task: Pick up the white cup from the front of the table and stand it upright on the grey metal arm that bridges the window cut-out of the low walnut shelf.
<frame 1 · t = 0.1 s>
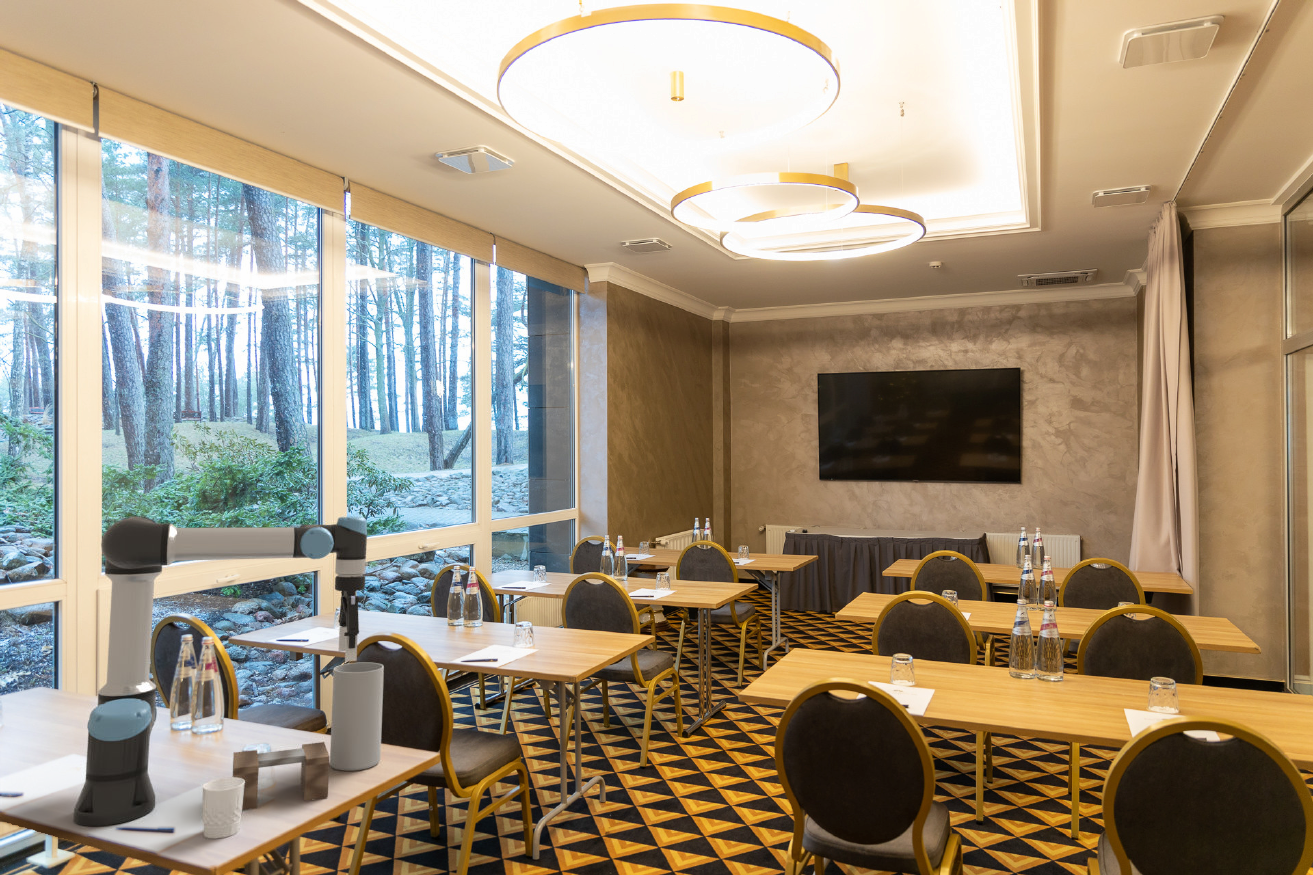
hand: (347, 655, 219), 28 cm above the table, tool pointing down, fingers open, 13 cm apart
cylinder vase: (355, 764, 218), on the table
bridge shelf: (279, 795, 195), on the table
white cup: (221, 833, 174), on the table
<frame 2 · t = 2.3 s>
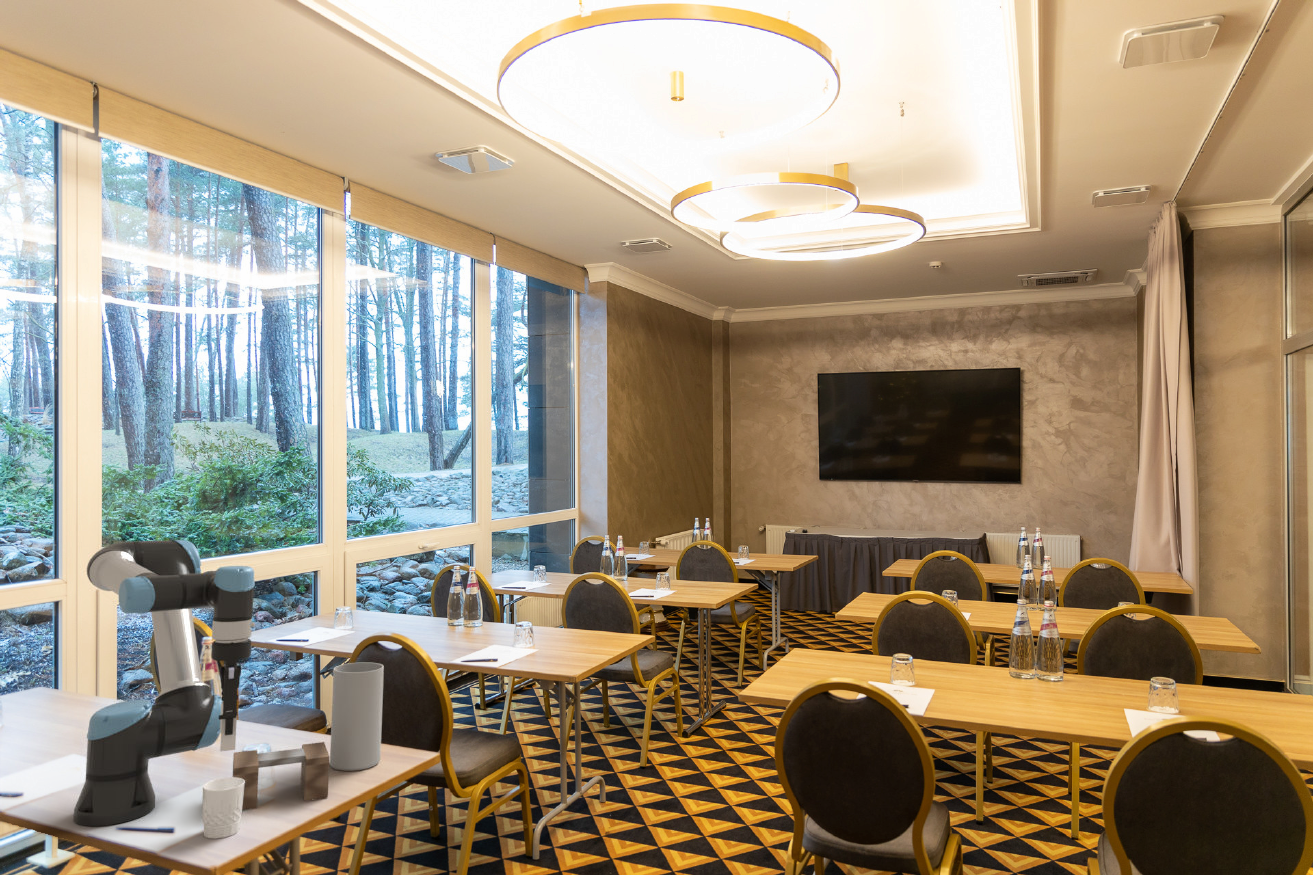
hand: (227, 740, 176), 19 cm above the table, tool pointing down, fingers open, 13 cm apart
nothing on the table moved.
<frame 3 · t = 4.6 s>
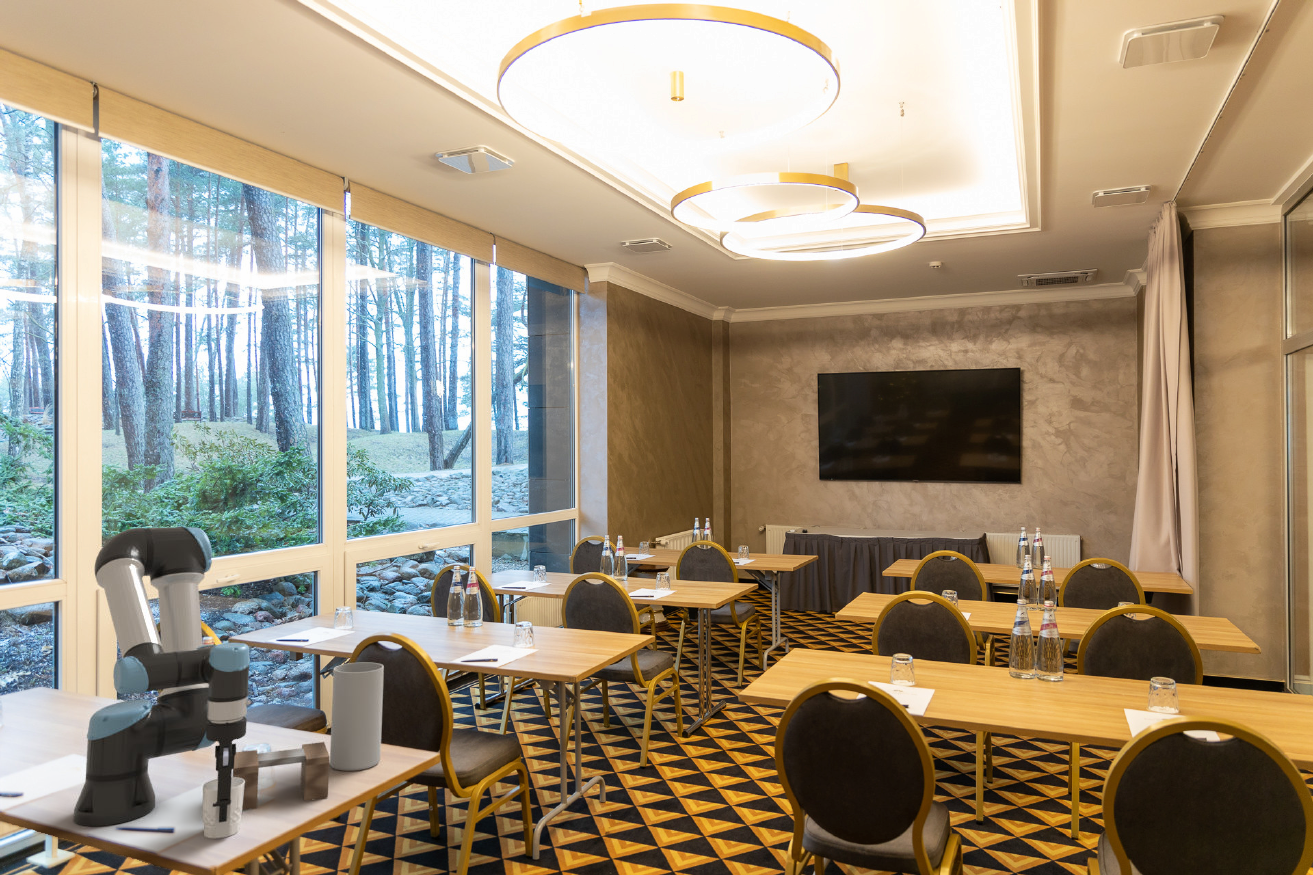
hand: (221, 828, 174), 1 cm above the table, tool pointing down, fingers closed on white cup, 8 cm apart
white cup: (221, 832, 174), on the table, touching gripper
everything else where it was.
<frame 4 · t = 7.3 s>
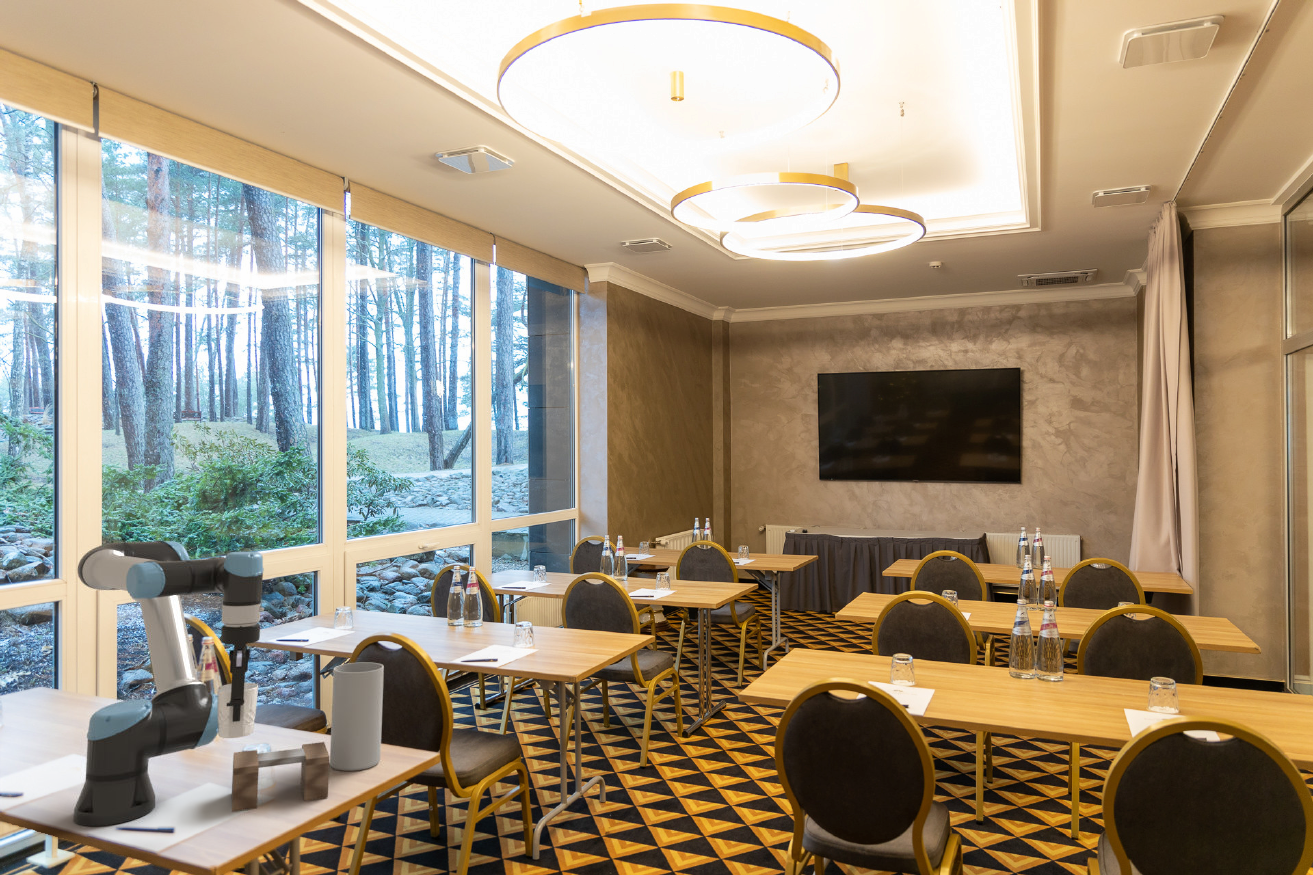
hand: (236, 730, 179), 20 cm above the table, tool pointing down, fingers closed on white cup, 8 cm apart
white cup: (235, 734, 179), point 19 cm above the table, touching gripper
everything else where it was.
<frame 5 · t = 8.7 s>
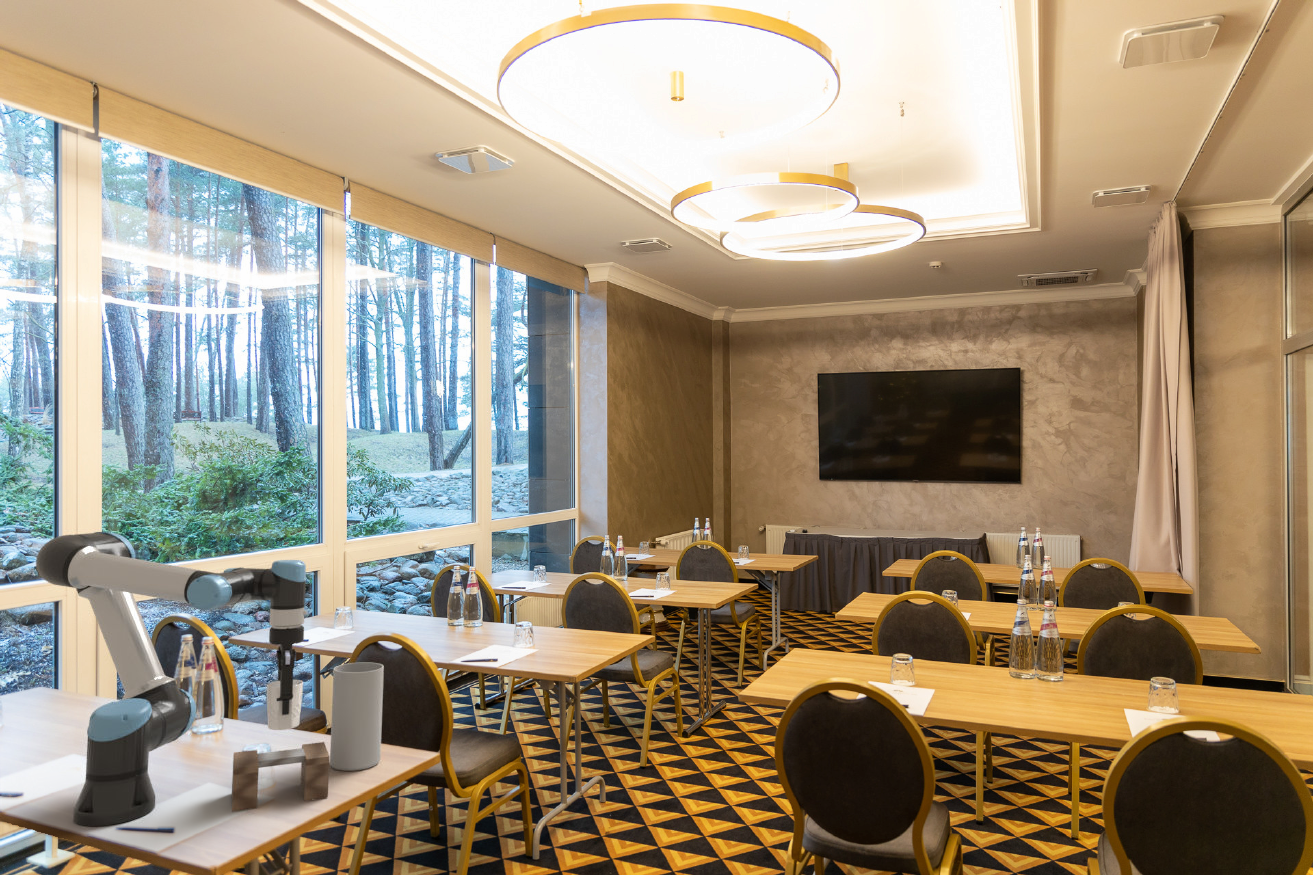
hand: (283, 723, 196), 17 cm above the table, tool pointing down, fingers closed on white cup, 8 cm apart
white cup: (283, 727, 196), point 16 cm above the table, touching gripper
everything else where it was.
when the fingers open (12 cm above the table, at t = 10.1 s): white cup drops 1 cm, point 10 cm above the table.
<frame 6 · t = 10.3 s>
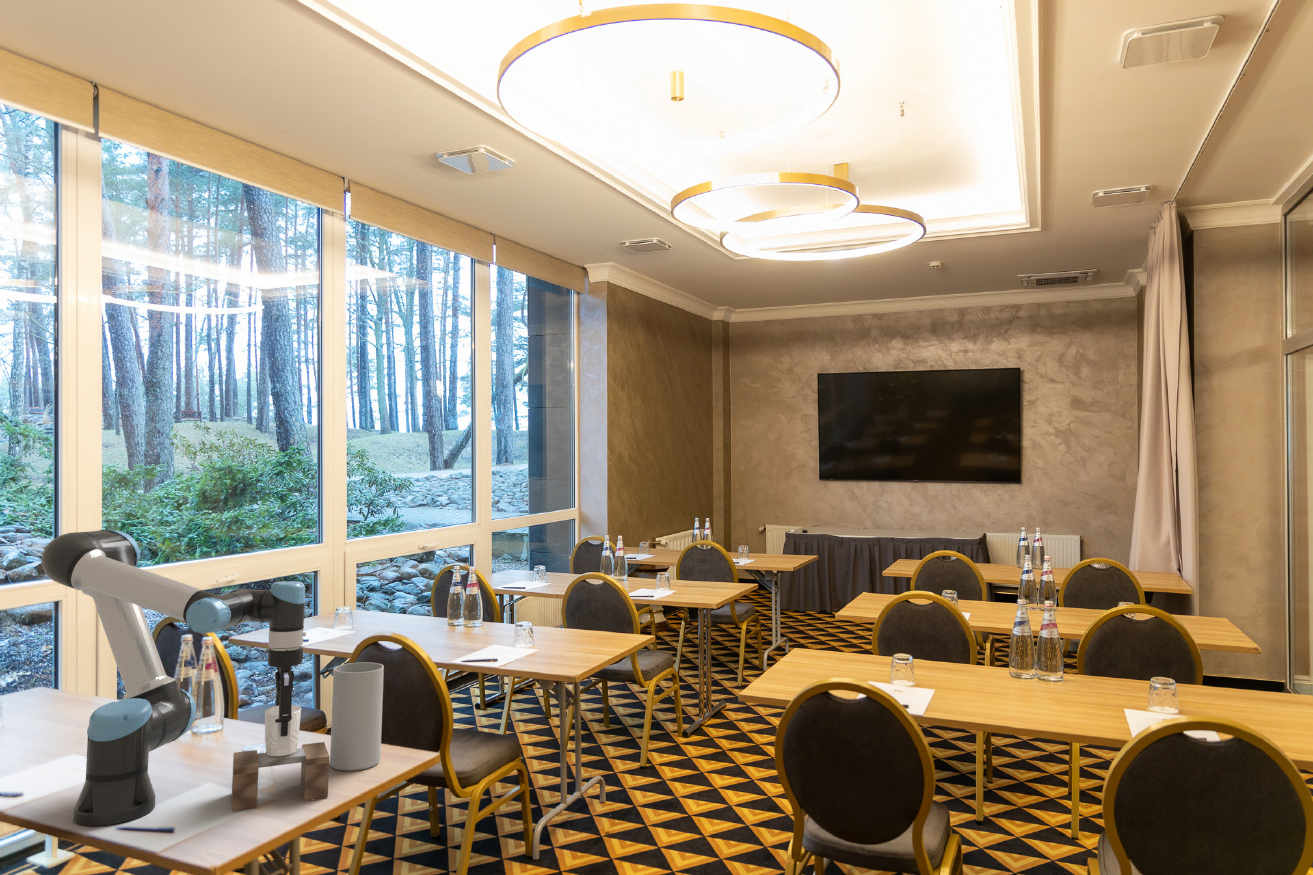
hand: (281, 743, 196), 12 cm above the table, tool pointing down, fingers open, 10 cm apart
white cup: (281, 752, 197), point 10 cm above the table, touching gripper
everything else where it was.
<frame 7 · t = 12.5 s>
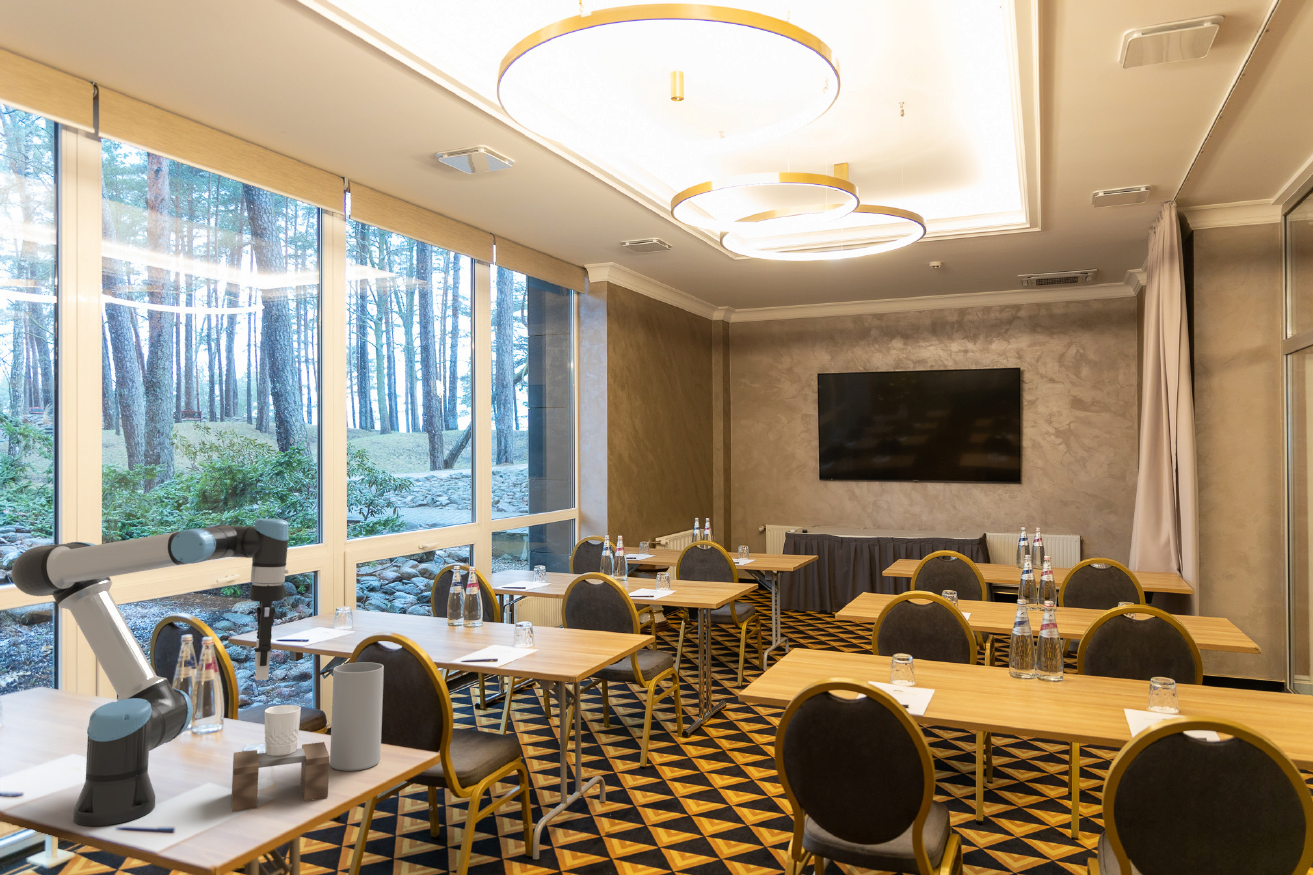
hand: (261, 673, 198), 28 cm above the table, tool pointing down, fingers open, 13 cm apart
white cup: (281, 752, 197), point 9 cm above the table, touching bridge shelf
everything else where it was.
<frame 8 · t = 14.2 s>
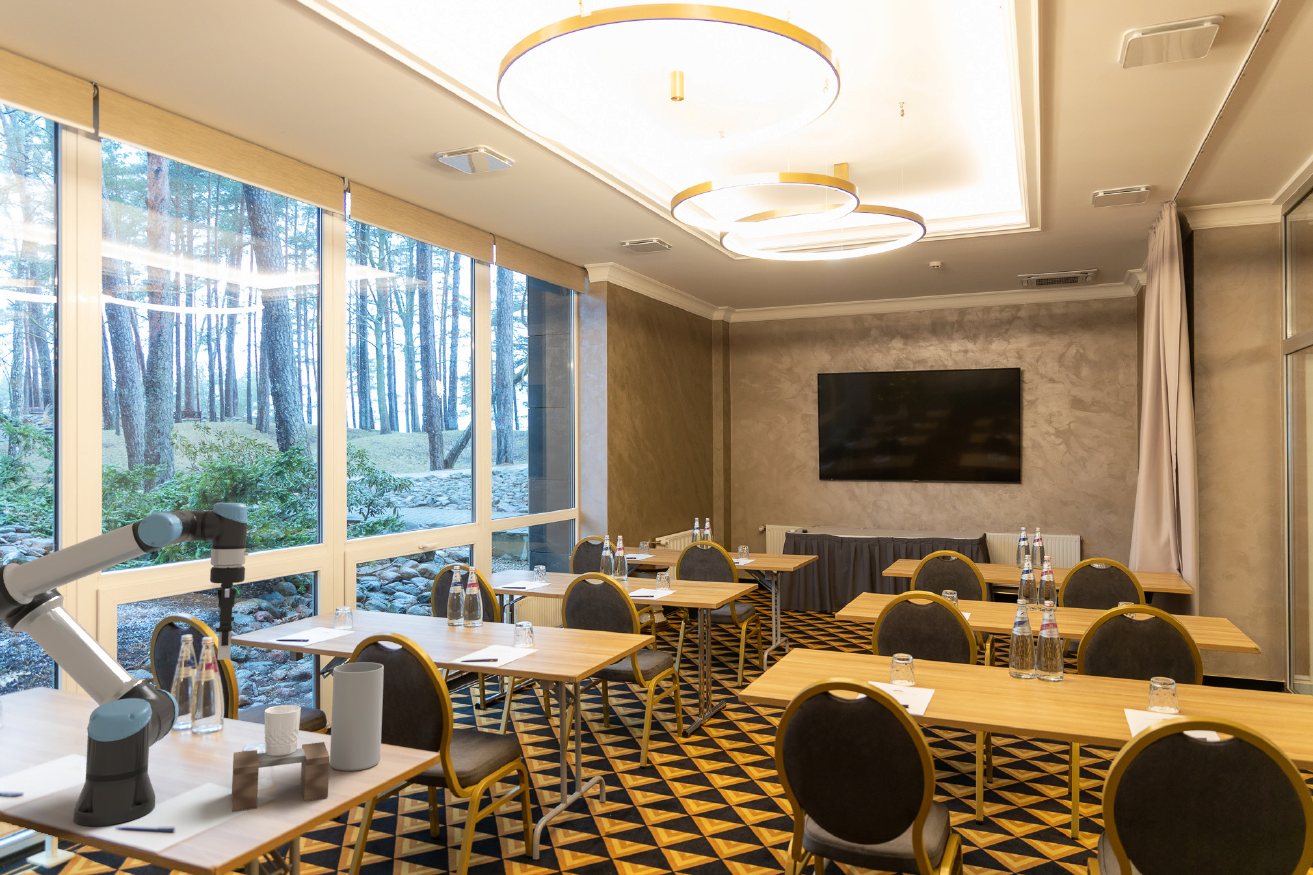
hand: (223, 653, 201), 32 cm above the table, tool pointing down, fingers open, 13 cm apart
nothing on the table moved.
at the end: white cup 2.2 cm off-centre on the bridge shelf, point 9.3 cm above the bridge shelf's base; white cup tilted 0°; the gripper is holding nothing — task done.
